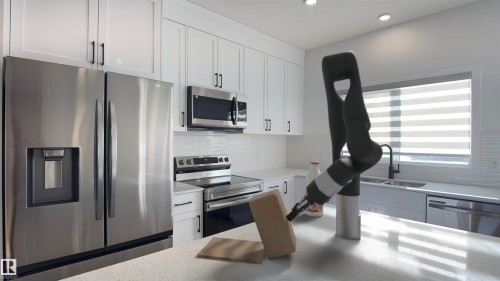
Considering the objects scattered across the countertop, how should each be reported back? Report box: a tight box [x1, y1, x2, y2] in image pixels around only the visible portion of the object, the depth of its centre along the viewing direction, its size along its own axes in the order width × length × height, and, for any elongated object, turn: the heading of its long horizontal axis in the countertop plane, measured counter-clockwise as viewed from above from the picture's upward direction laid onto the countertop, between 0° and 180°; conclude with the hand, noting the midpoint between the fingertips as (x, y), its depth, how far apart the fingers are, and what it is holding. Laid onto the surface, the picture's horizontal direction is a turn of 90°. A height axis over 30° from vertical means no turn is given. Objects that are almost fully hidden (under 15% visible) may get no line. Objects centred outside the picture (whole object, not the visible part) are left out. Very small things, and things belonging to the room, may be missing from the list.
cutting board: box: [196, 236, 266, 265], centre depth 93 cm, size 22×16×1 cm
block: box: [248, 188, 297, 260], centre depth 90 cm, size 10×10×20 cm
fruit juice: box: [304, 160, 324, 218], centre depth 138 cm, size 9×9×28 cm
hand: (288, 218), depth 88 cm, fingers closed
